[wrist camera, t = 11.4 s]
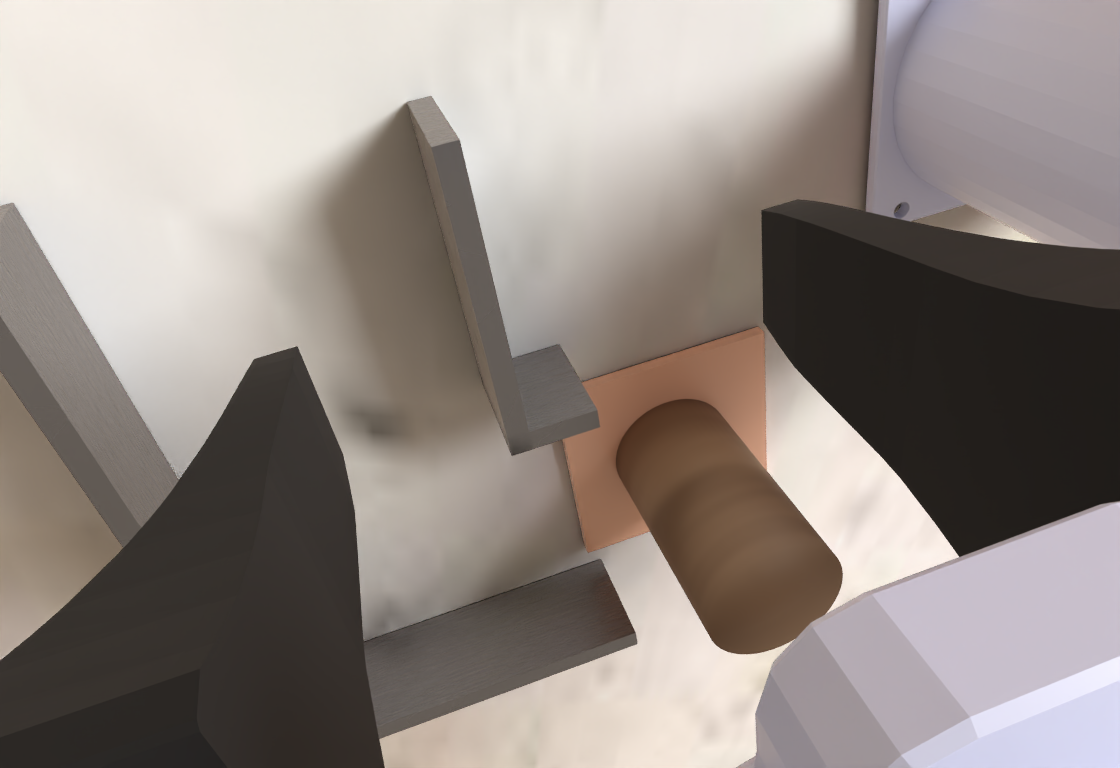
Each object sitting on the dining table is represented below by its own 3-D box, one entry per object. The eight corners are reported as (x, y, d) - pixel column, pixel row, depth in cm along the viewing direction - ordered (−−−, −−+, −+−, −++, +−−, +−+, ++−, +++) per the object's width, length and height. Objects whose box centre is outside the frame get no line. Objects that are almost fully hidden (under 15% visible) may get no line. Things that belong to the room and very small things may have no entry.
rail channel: (507, 76, 20) (547, 116, 17) (603, 569, 31) (637, 643, 28) (-15, 210, 18) (-65, 278, 15) (279, 683, 29) (281, 775, 26)
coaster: (758, 326, 27) (764, 332, 26) (761, 483, 31) (766, 490, 30) (552, 391, 26) (555, 398, 25) (584, 545, 30) (587, 552, 29)
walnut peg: (737, 462, 29) (851, 609, 23) (635, 513, 29) (726, 674, 23) (710, 378, 27) (830, 520, 21) (599, 434, 26) (690, 592, 21)
